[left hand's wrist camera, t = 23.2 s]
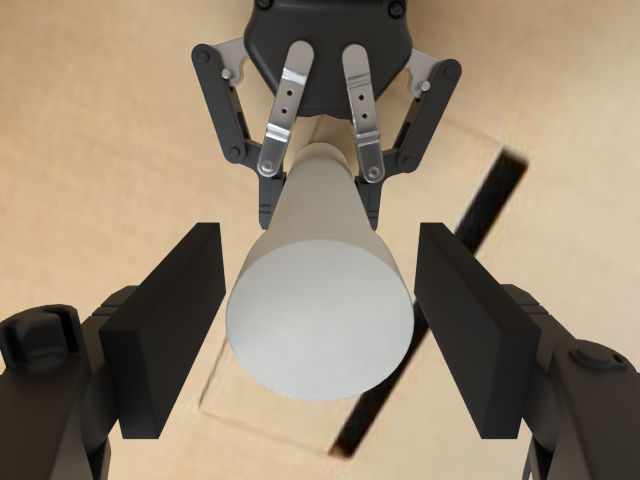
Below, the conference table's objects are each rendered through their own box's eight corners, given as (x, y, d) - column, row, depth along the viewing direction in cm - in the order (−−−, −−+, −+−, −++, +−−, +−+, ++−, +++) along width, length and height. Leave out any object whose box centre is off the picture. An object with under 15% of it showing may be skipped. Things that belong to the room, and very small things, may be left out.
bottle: (289, 143, 29) (234, 240, 10) (347, 140, 29) (397, 232, 10) (293, 199, 30) (252, 372, 12) (348, 196, 30) (394, 366, 12)
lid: (310, 177, 11) (307, 198, 9) (430, 277, 12) (454, 318, 10) (211, 293, 12) (187, 336, 10) (327, 375, 13) (329, 429, 11)
